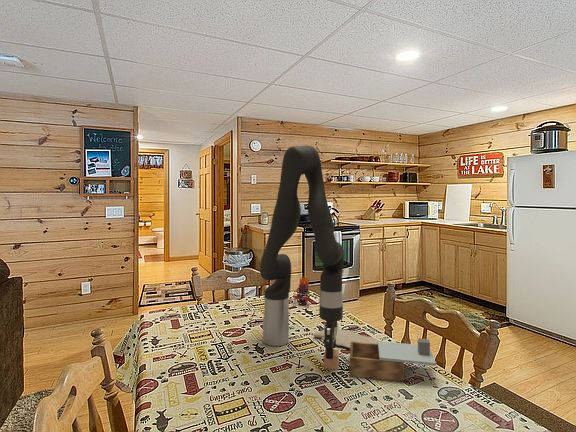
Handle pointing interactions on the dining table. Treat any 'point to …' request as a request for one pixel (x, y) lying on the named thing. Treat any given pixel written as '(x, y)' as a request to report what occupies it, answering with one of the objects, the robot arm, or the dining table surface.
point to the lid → (407, 352)
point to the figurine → (302, 292)
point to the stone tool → (347, 338)
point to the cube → (332, 360)
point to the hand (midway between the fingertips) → (330, 352)
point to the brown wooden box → (373, 364)
